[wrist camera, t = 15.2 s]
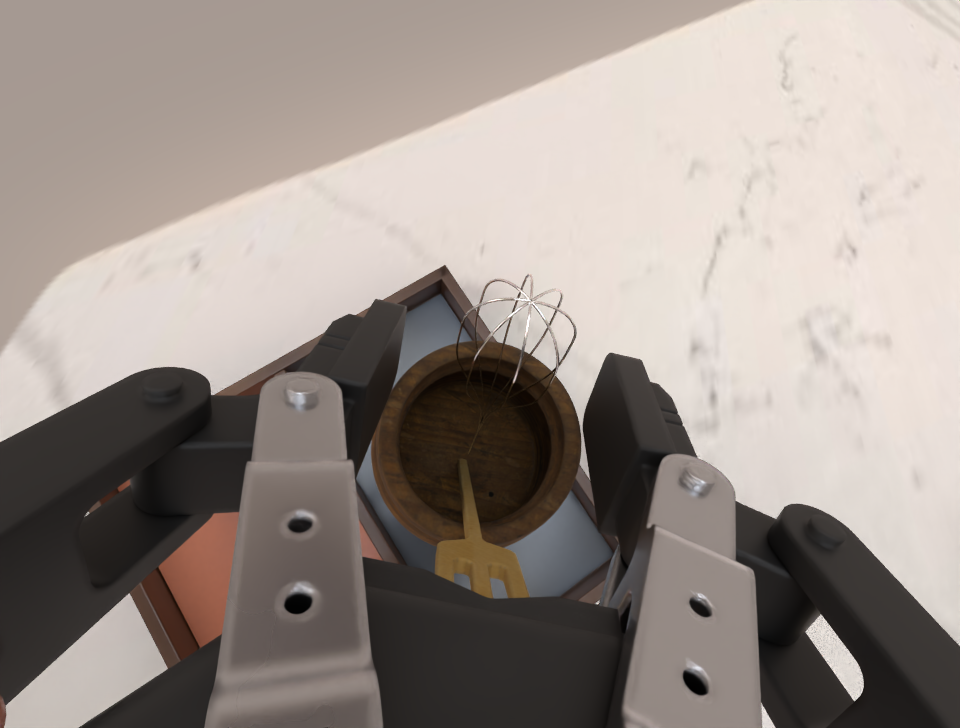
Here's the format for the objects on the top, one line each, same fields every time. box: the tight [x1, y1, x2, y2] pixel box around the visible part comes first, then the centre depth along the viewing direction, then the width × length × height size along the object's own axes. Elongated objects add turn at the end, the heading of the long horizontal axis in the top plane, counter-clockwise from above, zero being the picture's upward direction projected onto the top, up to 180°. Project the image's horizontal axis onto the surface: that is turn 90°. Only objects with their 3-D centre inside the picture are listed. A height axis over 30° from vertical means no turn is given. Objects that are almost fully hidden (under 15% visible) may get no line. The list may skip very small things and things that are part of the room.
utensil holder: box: [371, 273, 581, 598], centre depth 14 cm, size 6×6×12 cm
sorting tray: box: [89, 265, 619, 669], centre depth 26 cm, size 20×18×3 cm
